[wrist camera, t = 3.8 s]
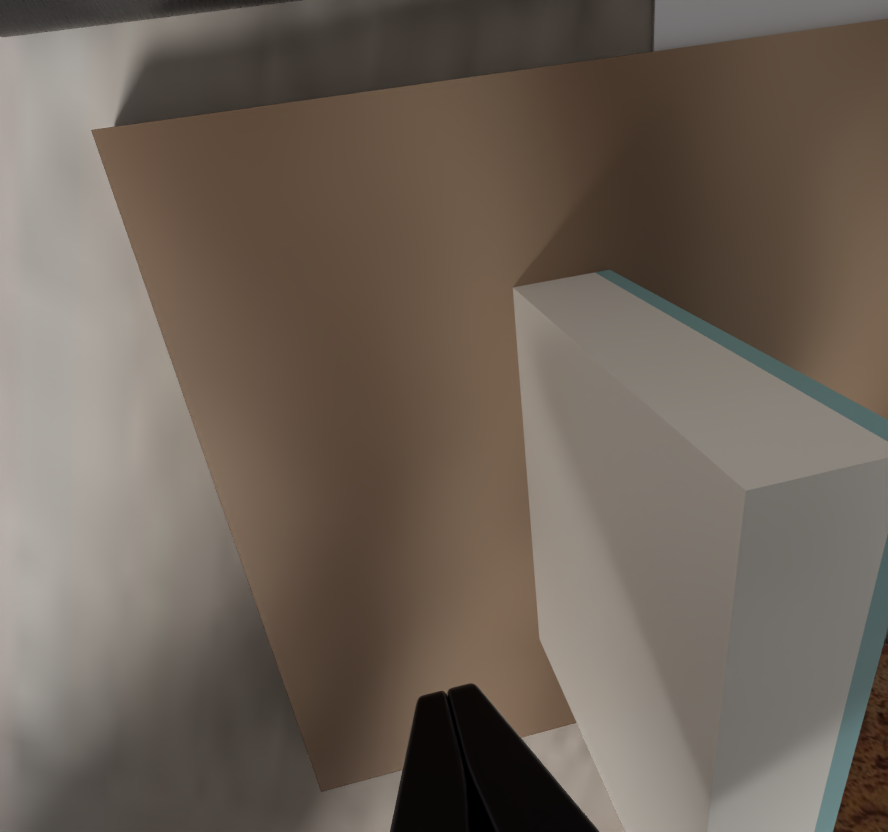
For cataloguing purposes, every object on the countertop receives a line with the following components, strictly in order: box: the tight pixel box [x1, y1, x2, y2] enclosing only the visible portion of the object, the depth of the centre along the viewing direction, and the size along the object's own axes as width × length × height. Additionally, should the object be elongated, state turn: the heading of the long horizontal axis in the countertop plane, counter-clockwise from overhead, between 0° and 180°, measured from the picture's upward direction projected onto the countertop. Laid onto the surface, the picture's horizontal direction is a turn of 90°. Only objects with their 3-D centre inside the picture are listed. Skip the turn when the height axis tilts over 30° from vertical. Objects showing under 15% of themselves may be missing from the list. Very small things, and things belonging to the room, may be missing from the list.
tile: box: [513, 270, 888, 832], centre depth 11 cm, size 2×9×7 cm, turn 7°
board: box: [91, 19, 888, 792], centre depth 15 cm, size 16×16×1 cm
